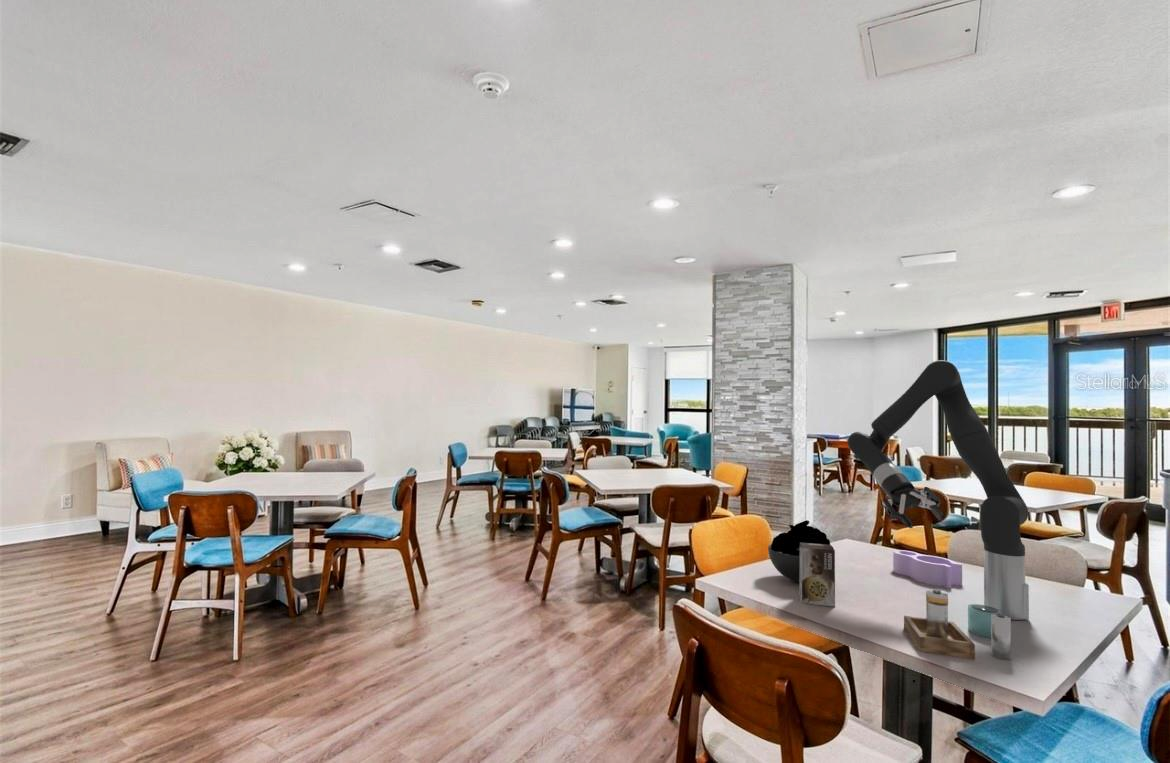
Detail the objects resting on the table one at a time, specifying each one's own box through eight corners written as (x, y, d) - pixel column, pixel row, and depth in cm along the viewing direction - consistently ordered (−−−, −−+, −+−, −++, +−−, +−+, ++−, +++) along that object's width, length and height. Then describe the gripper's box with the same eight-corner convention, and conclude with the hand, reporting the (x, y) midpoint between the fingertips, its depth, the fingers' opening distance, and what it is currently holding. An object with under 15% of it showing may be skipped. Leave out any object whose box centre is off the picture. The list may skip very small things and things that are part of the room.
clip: (885, 572, 192) (885, 552, 193) (907, 568, 198) (907, 548, 198) (945, 589, 174) (945, 567, 175) (967, 584, 180) (967, 563, 181)
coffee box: (831, 600, 160) (832, 544, 161) (835, 607, 154) (836, 549, 155) (798, 596, 163) (799, 541, 164) (800, 603, 157) (801, 546, 157)
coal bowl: (803, 595, 164) (804, 531, 165) (754, 575, 182) (755, 518, 183) (847, 586, 173) (848, 527, 174) (796, 569, 191) (797, 515, 192)
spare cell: (1006, 654, 127) (1006, 612, 127) (1013, 661, 123) (1013, 617, 124) (988, 651, 128) (988, 610, 128) (995, 658, 124) (995, 615, 125)
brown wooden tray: (953, 635, 137) (953, 621, 137) (974, 659, 124) (974, 644, 124) (903, 628, 140) (904, 615, 141) (919, 651, 127) (919, 636, 127)
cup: (994, 629, 142) (994, 605, 142) (1006, 640, 135) (1006, 615, 135) (963, 625, 144) (963, 602, 144) (974, 635, 137) (974, 611, 137)
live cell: (944, 637, 134) (944, 589, 134) (950, 644, 129) (950, 594, 130) (923, 634, 135) (923, 586, 136) (929, 641, 131) (929, 592, 131)
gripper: (870, 479, 165) (903, 520, 152) (916, 466, 165) (953, 507, 151) (869, 495, 170) (900, 537, 156) (914, 482, 169) (949, 523, 156)
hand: (926, 522), depth 154 cm, fingers open, 8 cm apart
